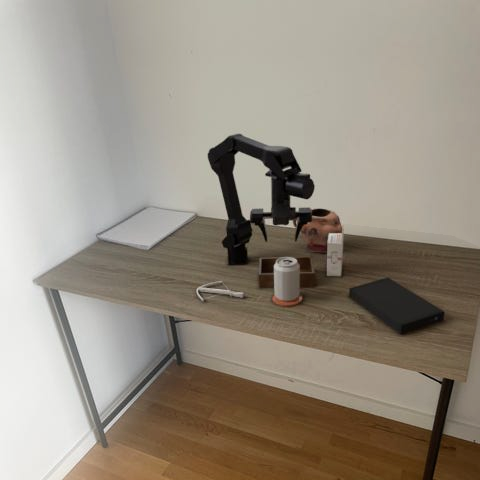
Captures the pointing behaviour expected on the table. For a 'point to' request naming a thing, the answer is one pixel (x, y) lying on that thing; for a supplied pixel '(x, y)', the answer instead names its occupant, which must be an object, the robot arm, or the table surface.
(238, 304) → the table surface
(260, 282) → the wooden tray
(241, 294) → the crossbow
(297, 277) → the can
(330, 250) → the ink cartridge box
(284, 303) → the coaster
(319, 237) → the decorative planter
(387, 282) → the external hard drive
